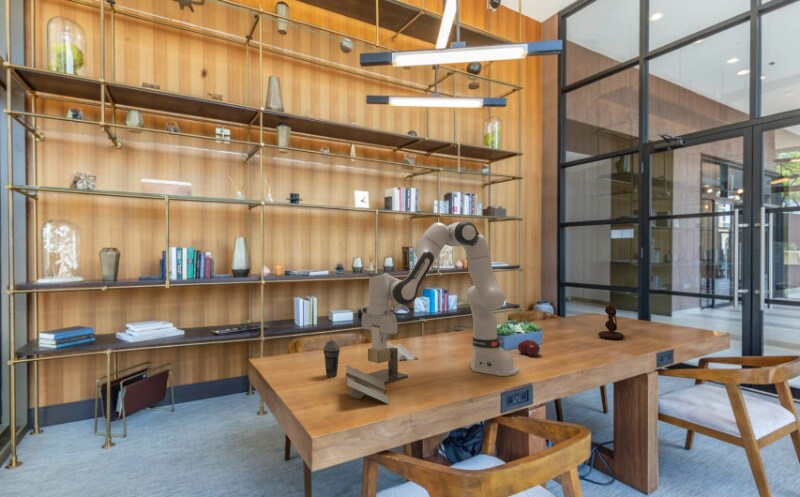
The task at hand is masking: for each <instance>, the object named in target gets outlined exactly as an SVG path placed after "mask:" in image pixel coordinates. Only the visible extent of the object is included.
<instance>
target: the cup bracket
mask: <svg viewBox="0 0 800 497" xmlns="http://www.w3.org/2000/svg"><path fill="white" fill-rule="evenodd" d="M367 361H368V362H372V363H375V364H383V363H387V365H388V366H387V368H384V369H379V370H376V371H372V372H370V373H367V374H368V375H370V376H372V377H374V378H377V379H379V380H381V381H384V385H385V386H386V385H388V384H390V383H394V382H397V381H401V380H404V379H407V378H408V377H409V375H408V374H405V373H402V372H399V370H398V369H399V368H398V367H399V366H398V365H399V364H398V362H399V361H398V348H395V347H391V348H387V350H382V351H375V350H372V347H371V348H368V349H367Z"/></svg>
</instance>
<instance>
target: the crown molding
mask: <svg viewBox="0 0 800 497" xmlns="http://www.w3.org/2000/svg"><path fill="white" fill-rule="evenodd" d="M391 347H395V348H398V362H400V361H401V360H402V361H403V360H406V361H415V360H419V358H418V356H417V355H416V354H414V353H413V352H411V351H410V350H409V349H408V348H406V347H405V346H403V345H402V344H401V343H398V344H396V345H393V344H392V343H391V342H389V341H387V348H391Z"/></svg>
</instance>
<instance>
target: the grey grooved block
mask: <svg viewBox="0 0 800 497" xmlns="http://www.w3.org/2000/svg"><path fill="white" fill-rule="evenodd" d="M368 374H369V373H365V372H363V371H362V370H359V369H357V368H354V367H352V366H349V365H346V373H345V375H344V376H345V382H346V384H347V386H348V387H350V389H349V392H348V393H349V396H350V397H352V398H355V399H357V400H361V398H363V397H364V396H365V395H367V396H370V397H372V398H374V399H376V400H379V401H381V402H383V403H386V404H388V405H390V399H389V397H388V395H386V394H385V391H386V384H385V385H384V381H381V380H379V379H377V378H374V377H372V376H370V375H368Z"/></svg>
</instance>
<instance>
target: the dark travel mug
mask: <svg viewBox="0 0 800 497" xmlns="http://www.w3.org/2000/svg"><path fill="white" fill-rule="evenodd" d="M329 335H330V340H329V341H327V342H326V343H325V344H324V347H323V350H322V351H323V355H324V363H325V365H324V366H325V374H326V378H329V379H332V378H336V377H338V369H339V357H340V356H339V355H340V346H339V343H337V341H334V340H332V339H333V338H332V330H330V331H329Z"/></svg>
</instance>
